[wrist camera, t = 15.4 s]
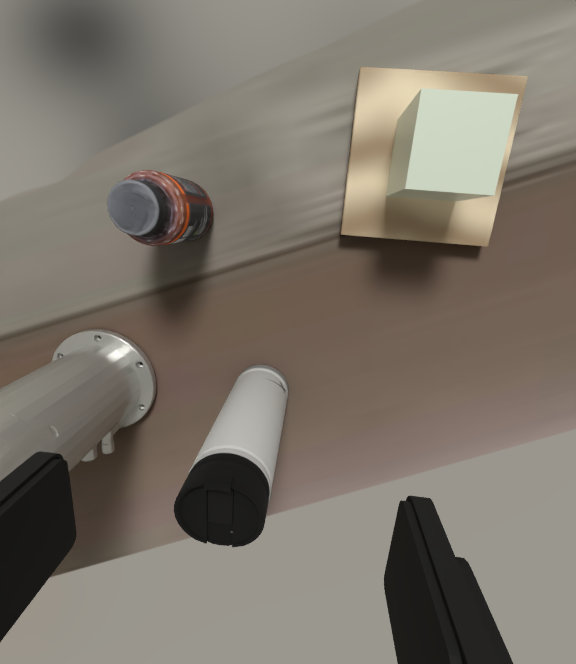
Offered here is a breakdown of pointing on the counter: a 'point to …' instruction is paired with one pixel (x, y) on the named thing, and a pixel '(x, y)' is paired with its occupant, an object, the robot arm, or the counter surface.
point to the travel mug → (236, 463)
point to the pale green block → (450, 145)
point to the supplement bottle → (159, 208)
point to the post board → (376, 154)
